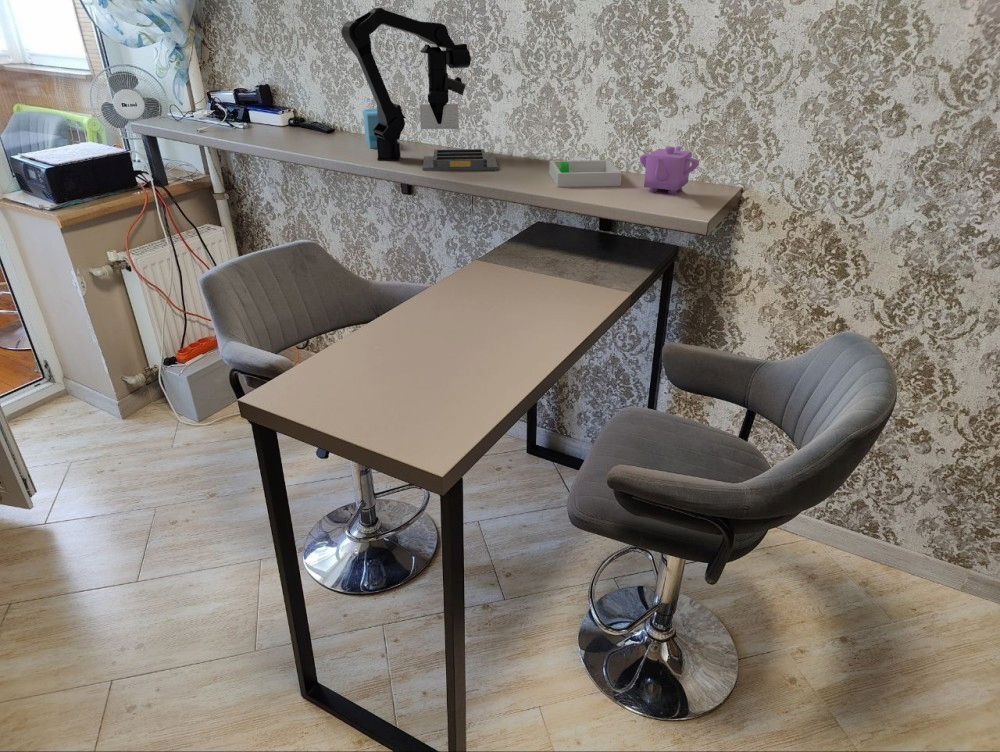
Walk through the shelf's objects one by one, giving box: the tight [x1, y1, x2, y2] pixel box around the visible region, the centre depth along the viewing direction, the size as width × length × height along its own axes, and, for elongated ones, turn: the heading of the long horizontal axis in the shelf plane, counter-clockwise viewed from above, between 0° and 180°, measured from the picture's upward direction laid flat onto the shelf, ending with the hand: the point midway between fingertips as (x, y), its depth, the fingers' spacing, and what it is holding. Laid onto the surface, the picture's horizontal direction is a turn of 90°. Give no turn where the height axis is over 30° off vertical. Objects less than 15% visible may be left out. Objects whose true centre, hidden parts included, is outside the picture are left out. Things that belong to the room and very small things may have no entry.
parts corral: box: [548, 159, 623, 188], centre depth 190 cm, size 17×17×4 cm
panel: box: [419, 103, 460, 130], centre depth 216 cm, size 12×3×7 cm, turn 94°
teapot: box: [639, 145, 700, 195], centre depth 177 cm, size 15×13×11 cm
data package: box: [362, 108, 379, 150], centre depth 230 cm, size 12×4×12 cm, turn 17°
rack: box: [421, 148, 499, 172], centre depth 208 cm, size 22×18×3 cm
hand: (439, 123), depth 217 cm, fingers closed on panel, 3 cm apart
